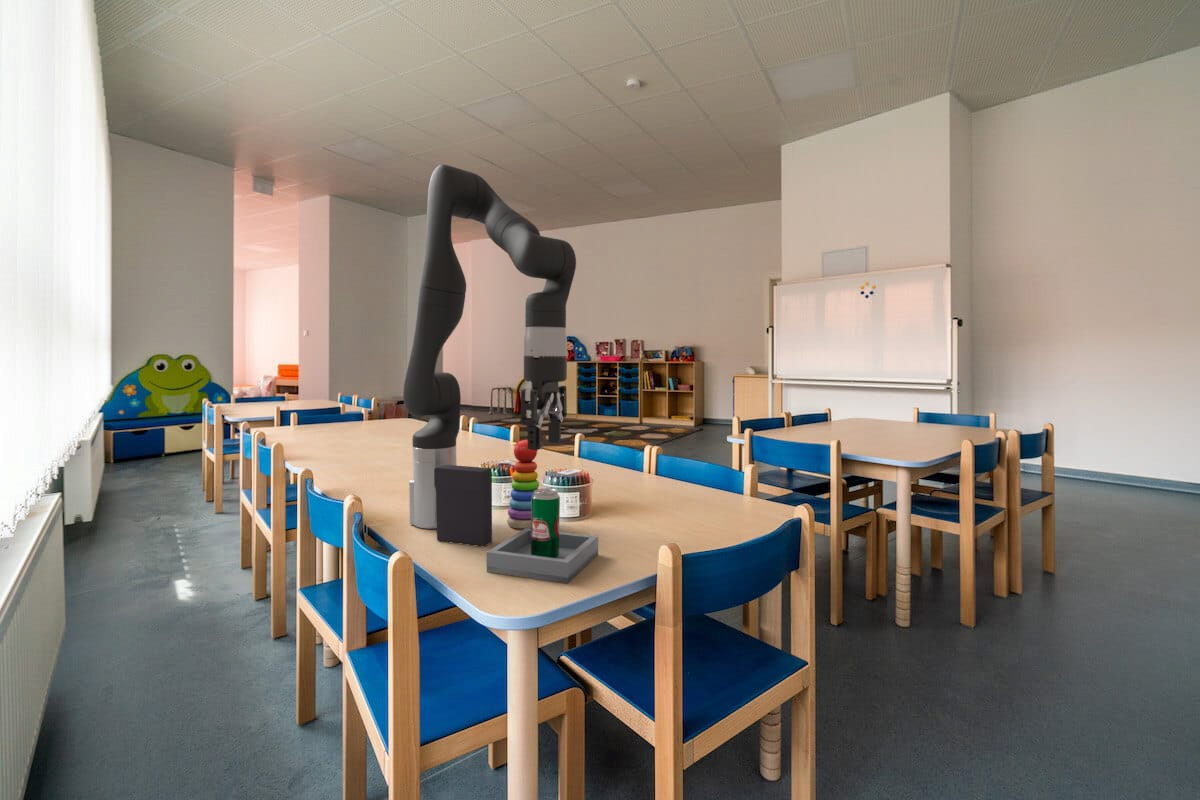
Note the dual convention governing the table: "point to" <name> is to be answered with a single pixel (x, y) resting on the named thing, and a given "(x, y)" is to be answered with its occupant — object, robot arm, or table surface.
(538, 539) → the soda can
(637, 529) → the table surface
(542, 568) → the tray
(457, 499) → the black upright block
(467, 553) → the table surface
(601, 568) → the table surface
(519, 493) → the stacking toy
